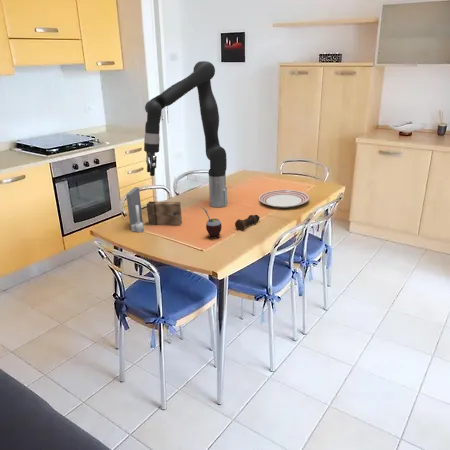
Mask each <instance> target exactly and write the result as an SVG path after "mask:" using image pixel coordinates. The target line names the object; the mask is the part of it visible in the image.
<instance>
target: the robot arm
mask: <svg viewBox="0 0 450 450" xmlns="http://www.w3.org/2000/svg"><path fill="white" fill-rule="evenodd" d="M215 73H216V68H215V66H214V64H213V63H212V62H209V61H207V60H206V61H205V60H204V61H202V60H201V61H198V62H196V63H195V65H194V67H193V71H192V72H191V73H190V74H189V75H188V76H186V77H185V78H184V79H182V80H180V81H178V82H176V83H174V84H173V85H171V86H169V87H168V88H166V89H165V90H163V92H161V93H160V94H158V95H156V96H154V97H153V98H151V99H149V101H147V102H146V103H145V106H144V110H145V112H146V122H145V128H144V130H145V131H144V141H143V143H144V144H143V146H144V147H143V151H144V152H146V158H145V162H146V172H147V173H149V175H150V177H154V176H155V175H156V173H155V172H156V168H157V155H156V153H159V152H160V142H161V141H160V140H161V137H160V128H161V127H160V126H161V125H160V124H161V118H162V112H163V111H162V110H163V109H165V108H166V107H169V106H170V105H173V104H174V103H176V102H177V101H178V100H179V99H181V98H182V97H183V96H185V95H186V94H188V93H189V92H190V91H191V90H194V89H195V88H197V89H196V90H197V94H198V103H199V112H200V118H201V119H200V120H201V122H202V123H201V124H202V128H203V133H204V134H203V135H204V142H205V143H204V144H205V156H206V158H207V159H208V160H209V169H208V187H209V206H210V207H212V208H223V207H227V205H228V188H227V179H226V178H227V177H226V176H227V175H226V172H227V162H228V161H227V159H228V158H227V152H226V149H225V148H224V147H222V146H221V145H220V140H219V127H220V114H219V113H220V112H219V107H218V103H217V100H216V97H215V95H214V92H213V90H212V83H211V82H212V81H211V80H212V79H213V78H214V76H215V75H216V74H215Z"/></svg>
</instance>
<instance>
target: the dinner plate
mask: <svg viewBox="0 0 450 450" xmlns="http://www.w3.org/2000/svg"><path fill="white" fill-rule="evenodd" d="M258 200H259V201H260V203H262V204H264V205H267V206H270V207H274V208H281V209H283V208H285V209H287V208H294V207H297V206H301V205H303V204H305V203H307V202H308V201H309V200H310V196H309V195H308V194H307V193H305V192H302V191H300V190H293V189H276V190H271V191H270V190H269V191H266V192H264V193H262V194H261V195H259V197H258Z"/></svg>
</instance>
